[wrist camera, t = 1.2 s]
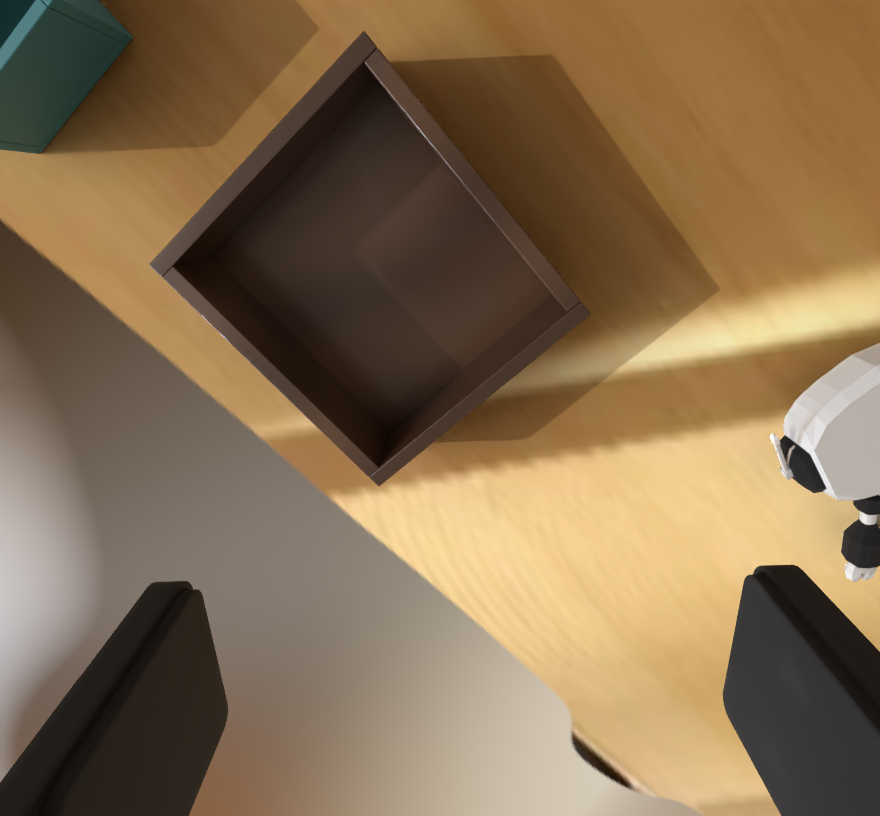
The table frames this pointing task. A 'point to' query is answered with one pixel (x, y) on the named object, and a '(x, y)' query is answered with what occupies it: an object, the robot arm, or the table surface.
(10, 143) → the box
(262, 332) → the crate
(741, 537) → the table surface
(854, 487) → the robot toy
